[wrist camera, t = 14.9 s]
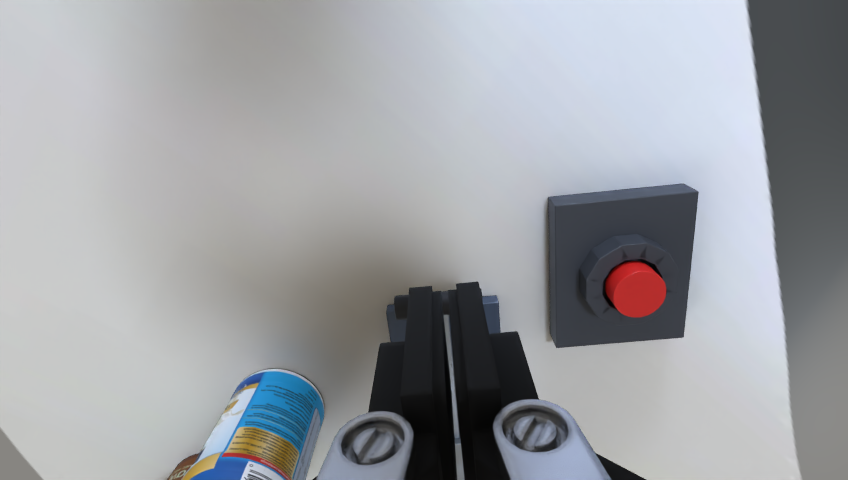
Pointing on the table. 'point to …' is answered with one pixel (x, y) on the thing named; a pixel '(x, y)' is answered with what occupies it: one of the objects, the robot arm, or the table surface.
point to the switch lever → (401, 314)
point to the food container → (183, 468)
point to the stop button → (635, 289)
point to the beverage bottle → (263, 431)
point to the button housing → (618, 261)
